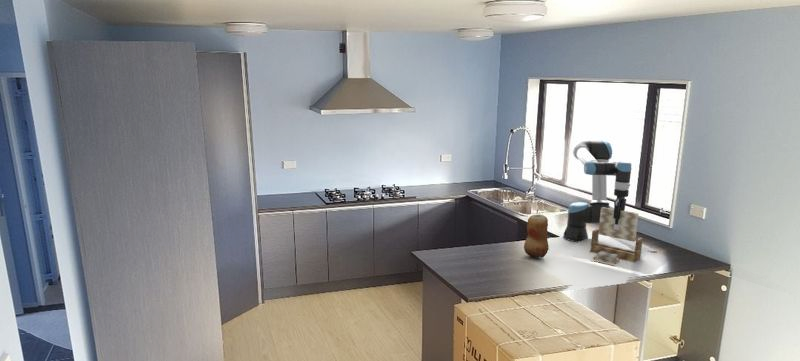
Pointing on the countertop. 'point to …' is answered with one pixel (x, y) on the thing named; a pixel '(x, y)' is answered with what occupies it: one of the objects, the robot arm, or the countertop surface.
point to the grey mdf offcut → (607, 256)
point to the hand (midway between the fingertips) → (617, 228)
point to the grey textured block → (606, 261)
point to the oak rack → (616, 249)
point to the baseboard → (632, 245)
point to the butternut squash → (537, 236)
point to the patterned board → (626, 224)
